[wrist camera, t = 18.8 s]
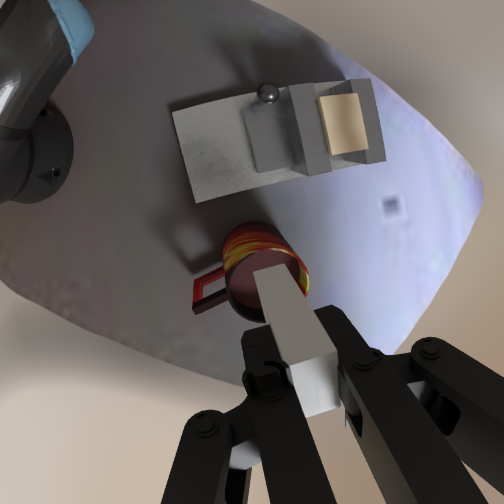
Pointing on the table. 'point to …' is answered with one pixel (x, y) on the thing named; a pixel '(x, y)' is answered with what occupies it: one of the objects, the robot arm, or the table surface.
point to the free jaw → (287, 130)
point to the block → (342, 123)
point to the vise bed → (238, 147)
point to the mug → (248, 269)
